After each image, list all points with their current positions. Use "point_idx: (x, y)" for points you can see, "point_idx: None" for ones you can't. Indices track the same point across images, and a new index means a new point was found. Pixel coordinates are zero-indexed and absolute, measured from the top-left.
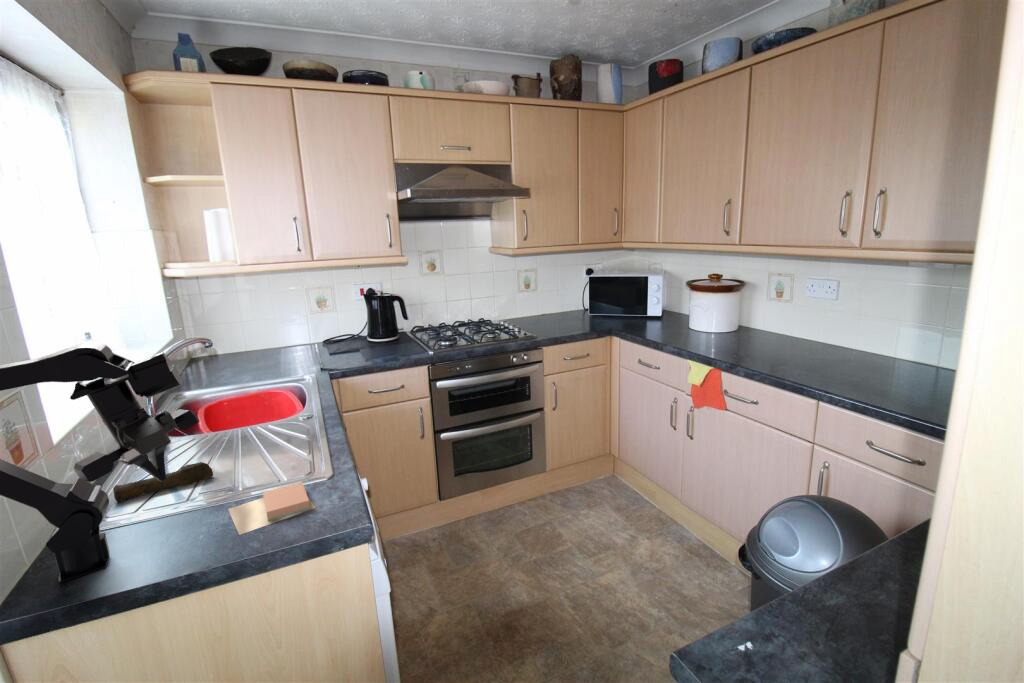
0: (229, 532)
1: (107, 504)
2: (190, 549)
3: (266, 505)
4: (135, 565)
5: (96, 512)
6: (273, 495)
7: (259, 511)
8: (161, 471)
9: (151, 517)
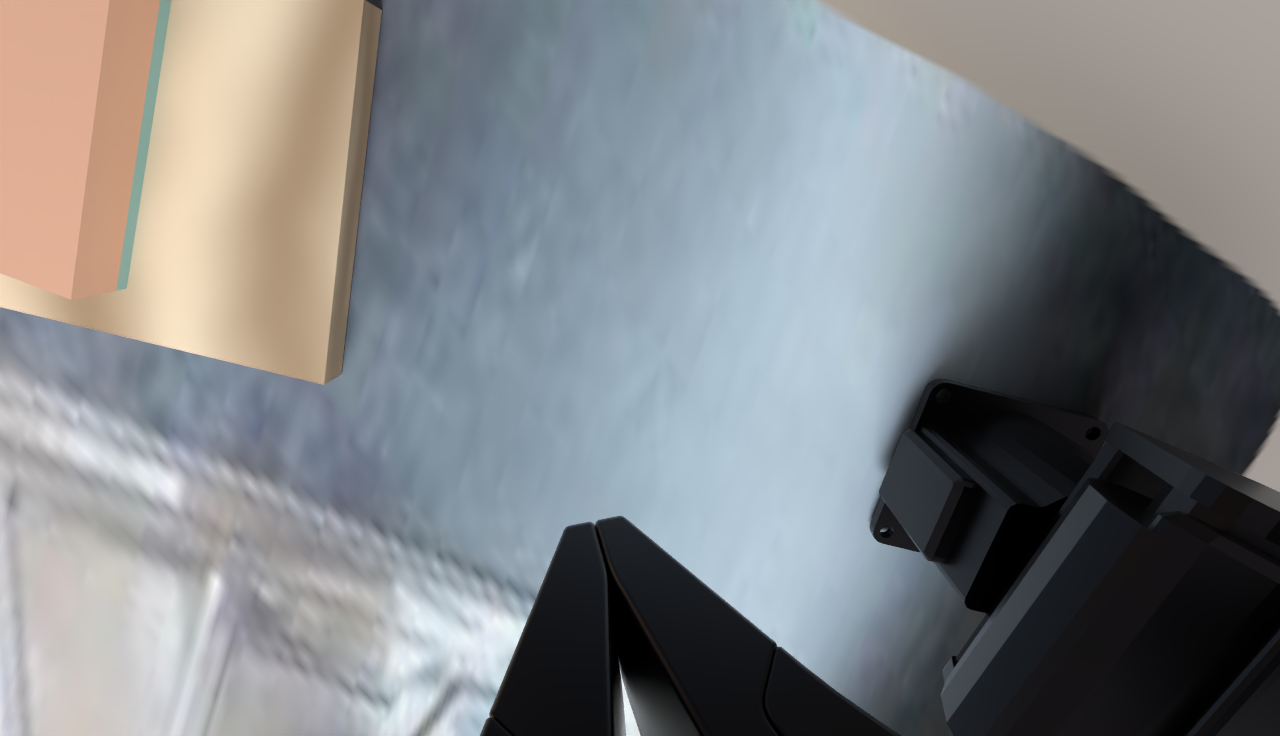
0: (399, 168)
1: (987, 675)
2: (609, 182)
3: (90, 88)
4: (841, 280)
5: (1203, 526)
6: (16, 191)
7: (183, 183)
8: (592, 599)
9: None
